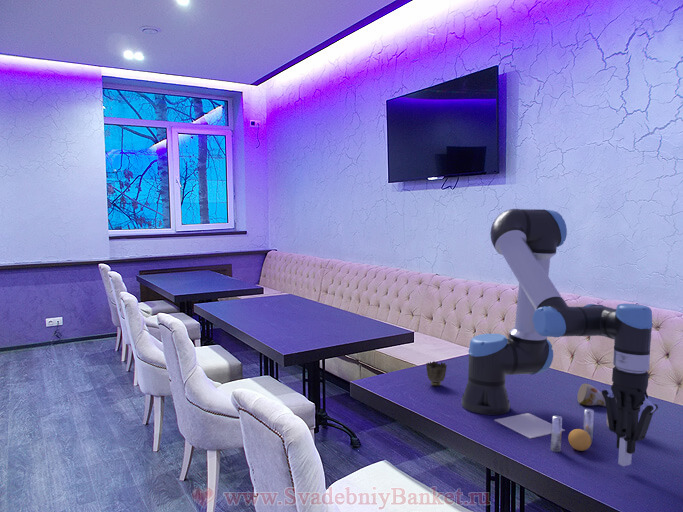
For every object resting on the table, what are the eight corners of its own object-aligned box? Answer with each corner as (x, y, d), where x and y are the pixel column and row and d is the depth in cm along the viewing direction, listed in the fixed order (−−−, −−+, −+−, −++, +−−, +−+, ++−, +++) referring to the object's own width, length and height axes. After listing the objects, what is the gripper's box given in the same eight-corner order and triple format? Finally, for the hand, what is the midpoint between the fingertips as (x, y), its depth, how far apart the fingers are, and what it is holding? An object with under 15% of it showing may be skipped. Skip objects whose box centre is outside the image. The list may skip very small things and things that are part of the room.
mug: (616, 411, 162) (604, 386, 161) (586, 419, 166) (574, 395, 164) (610, 398, 169) (599, 373, 168) (581, 406, 173) (569, 382, 171)
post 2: (580, 441, 138) (582, 409, 138) (586, 439, 139) (588, 408, 139) (588, 444, 136) (590, 412, 135) (594, 443, 137) (596, 411, 136)
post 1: (548, 449, 133) (550, 416, 132) (555, 447, 134) (556, 414, 133) (556, 452, 131) (557, 419, 130) (562, 451, 132) (564, 418, 131)
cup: (449, 384, 185) (449, 363, 184) (441, 390, 178) (442, 368, 178) (430, 380, 189) (430, 360, 188) (422, 385, 182) (423, 364, 182)
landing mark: (494, 420, 152) (494, 419, 151) (528, 413, 158) (528, 413, 158) (529, 438, 139) (530, 438, 139) (565, 430, 145) (565, 429, 145)
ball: (561, 430, 134) (578, 430, 130) (575, 427, 137) (592, 427, 132) (566, 452, 133) (583, 452, 128) (581, 448, 135) (598, 449, 131)
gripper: (595, 363, 124) (590, 455, 125) (647, 378, 112) (641, 479, 114) (615, 360, 127) (610, 450, 129) (667, 374, 115) (661, 473, 117)
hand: (624, 463), depth 121 cm, fingers closed
